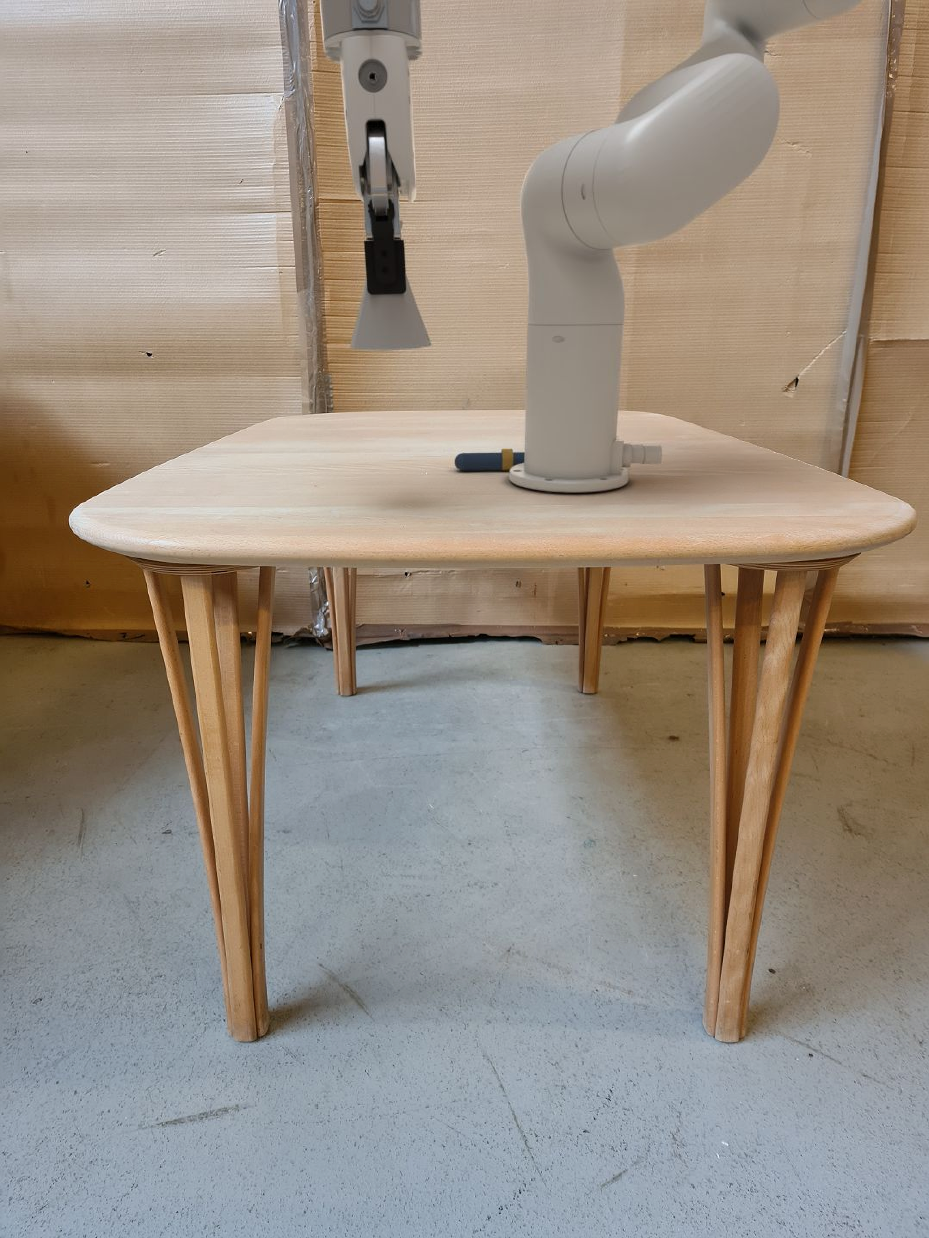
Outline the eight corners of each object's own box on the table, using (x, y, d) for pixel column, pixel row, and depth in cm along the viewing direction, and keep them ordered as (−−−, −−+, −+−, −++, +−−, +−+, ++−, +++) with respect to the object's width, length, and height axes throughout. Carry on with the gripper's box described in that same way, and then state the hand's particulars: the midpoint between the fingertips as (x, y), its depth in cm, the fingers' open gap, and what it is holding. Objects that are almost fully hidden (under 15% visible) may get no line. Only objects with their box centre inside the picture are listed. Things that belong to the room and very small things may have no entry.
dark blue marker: (557, 467, 88) (558, 446, 88) (560, 471, 86) (561, 450, 85) (454, 468, 88) (454, 448, 87) (454, 473, 86) (454, 451, 85)
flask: (436, 346, 70) (431, 223, 66) (427, 351, 63) (421, 215, 59) (358, 348, 70) (349, 226, 66) (341, 353, 63) (329, 219, 60)
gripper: (422, -10, 50) (434, 292, 57) (420, 62, 65) (429, 294, 73) (308, -9, 50) (334, 295, 57) (332, 63, 65) (350, 296, 72)
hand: (387, 292), depth 65 cm, fingers closed on flask, 3 cm apart
